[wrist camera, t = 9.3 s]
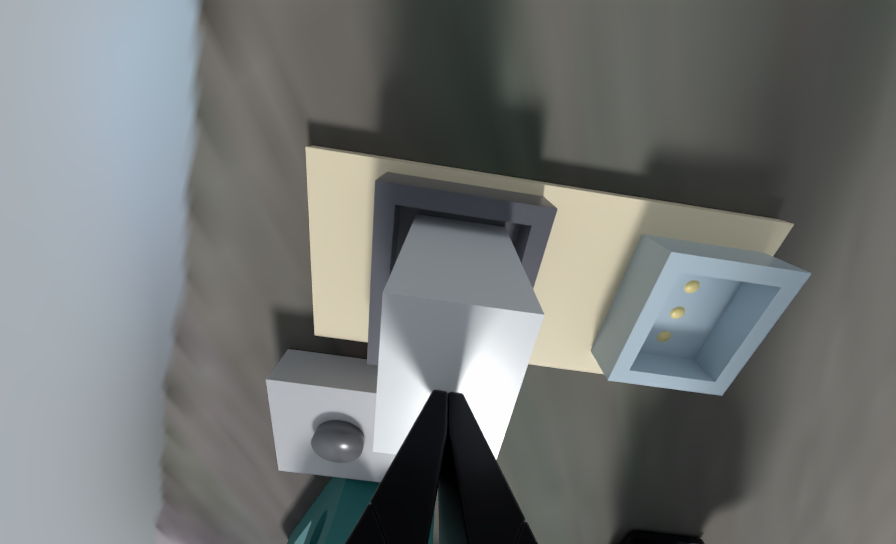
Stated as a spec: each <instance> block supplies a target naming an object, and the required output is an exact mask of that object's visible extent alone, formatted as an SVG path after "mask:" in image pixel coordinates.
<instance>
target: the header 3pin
mask: <svg viewBox="0 0 896 544" xmlns="http://www.w3.org/2000/svg"><path fill="white" fill-rule="evenodd" d="M811 274H812V273H810V272H808V271H805V270H803V269H801V268H798V267H796V266H794V265H791V264H789V263H787V262H784V261H782V260H780V259H778V258H775V257H773V256H771V255H768V254H766V253H762V252H755V251H749V250H742V249H736V248H729V247H723V246H716V245H710V244H704V243H697V242H691V241H684V240H678V239H671V238H665V237H658V236H652V235H645V234H642V236H641V238H640V241H639V243H638V245H637V247H636V250H635V252H634V254H633V256H632V259H631V261H630V263H629V266H628V268H627V270H626V272H625V275H624V277H623V279H622V281H621V284H620V286H619V288H618V290H617V293H616V295H615V297H614V300H613V302H612V304H611V306H610V309H609V311H608V313H607V315H606V318H605V320H604V322H603V324H602V327H601V329H600V331H599V334H598V336H597V338H596V340H595V343H594V345H593V347H592V349H591V353H592V354H593V356H594V358H595V360H596V361H597V363H598V365H599V366H600V368H601V370H602V372H603V373H604V375H605V377H606V379H607V380H608V381H616V382H623V383H631V384H638V385H646V386H653V387H661V388H668V389H676V390H683V391H691V392H698V393H706V394H713V395H720V396H722V395H723V394H724V392H725V391H726V390H727V388H728V387H729V386H730V384H731V383H732V381H733V380H734V379H735V377H736V376H737V375H738V373H739V372H740V371H741V369H742V368H743V366H744V365H745V364H746V362H747V361H748V360H749V358H750V357H751V356H752V354H753V353H754V351H755V350H756V349H757V347H758V346H759V345H760V343H761V342H762V341H763V339H764V338H765V336H766V335H767V334H768V332H769V331H770V330H771V328H772V327H773V326H774V324H775V323H776V321H777V320H778V319H779V317H780V316H781V315H782V313H783V312H784V310H785V309H786V308H787V306H788V305H789V304H790V302H791V301H792V300H793V298H794V297H795V295H796V294H797V293H798V291H799V290H800V289H801V287H802V286H803V285H804V283H805V282H806V280H807V279H808V278H809V276H810V275H811Z"/></svg>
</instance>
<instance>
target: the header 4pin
mask: <svg viewBox="0 0 896 544" xmlns="http://www.w3.org/2000/svg"><path fill="white" fill-rule="evenodd" d="M557 210H558V209H557V208H556V207H555V206H554V205H553V204H552V203H551V202H549V201H548V200H547V199H546V198H545V197H544V196H538V195H532V194H526V193H519V192H513V191H507V190H500V189H494V188H487V187H481V186H475V185H468V184H462V183H456V182H449V181H443V180H436V179H430V178H424V177H417V176H411V175H405V174H398V173H392V172H386V173H385V174H383V175H382V176H380V177H379V178H378V179H376V180H375V193H374V215H373V237H372V259H371V281H370V304H369V326H368V348H367V364H371V365H378V361H379V344H380V328H381V312H382V296H383V291H384V288H385V286H386V284H387V281H388V279H389V277H390V274H391V272H392V270H393V267H394V265H395V263H396V260H397V258H398V256H399V253H400V251H401V249H402V246H403V244H404V242H405V239H406V237H407V235H408V232H409V230H410V228H411V226H412V223H413V221H414V219H415V216H416V214H418V215H425V216H432V217H439V218H445V219H452V220H459V221H466V222H472V223H479V224H486V225H493V226H499V227H505V228H506V230H507V232H508V235H509V237H510V239H511V241H512V243H513V246H514V248H515V250H516V252H517V255H518V257H519V259H520V261H521V263H522V266H523V268H524V270H525V272H526V275H527V277H528V279H529V281H530V283H531V286H532V288H534V285H535V282H536V278H537V275H538V272H539V268H540V265H541V262H542V259H543V255H544V252H545V249H546V246H547V242H548V239H549V236H550V233H551V229H552V226H553V223H554V219H555V216H556V213H557Z"/></svg>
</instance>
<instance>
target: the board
mask: <svg viewBox="0 0 896 544" xmlns="http://www.w3.org/2000/svg"><path fill="white" fill-rule="evenodd" d="M306 165H307V187H308V208H309V229H310V250H311V271H312V292H313V314H314V335H316V336H324V337H331V338H339V339H346V340H354V341H361V342H368V326H369V304H370V281H371V259H372V237H373V215H374V193H375V180H376V179H378V178H379V177H380V176H382V175H383V174H385V173H386V172H392V173H398V174H405V175H411V176H417V177H424V178H430V179H436V180H443V181H449V182H456V183H462V184H468V185H475V186H481V187H487V188H494V189H500V190H507V191H513V192H519V193H526V194H532V195H538V196H544V197H545V198H546V199H547V200H548V201H549V202H551V203H552V204H553V205H554V206H555V207H556V208H557V209H558V210H557V213H556V216H555V219H554V223H553V226H552V229H551V233H550V236H549V239H548V242H547V246H546V249H545V252H544V255H543V259H542V262H541V265H540V268H539V272H538V275H537V278H536V282H535V285H534V288H533V290H534V292H535V295H536V297H537V299H538V301H539V303H540V306H541V308H542V310H543V312H544V314H545V315H544V318H543V321H542V324H541V327H540V330H539V333H538V336H537V339H536V342H535V345H534V348H533V351H532V354H531V357H530V360H529V363H528V364H532V365H539V366H547V367H554V368H561V369H569V370H576V371H584V372H591V373H599V374H604V373H603V372H602V370H601V368H600V366H599V365H598V363H597V361H596V360H595V358H594V356H593V354H592V353H591V349H592V347H593V345H594V343H595V340H596V338H597V336H598V334H599V331H600V329H601V327H602V324H603V322H604V320H605V318H606V315H607V313H608V311H609V309H610V306H611V304H612V302H613V300H614V297H615V295H616V293H617V290H618V288H619V286H620V284H621V281H622V279H623V277H624V275H625V272H626V270H627V268H628V266H629V263H630V261H631V259H632V256H633V254H634V252H635V250H636V247H637V245H638V243H639V241H640V238H641V236H642V234H645V235H652V236H658V237H665V238H671V239H678V240H684V241H691V242H697V243H704V244H710V245H716V246H723V247H729V248H736V249H742V250H749V251H755V252H762V253H766V254H768V255H771V256H774V255H775V253H776V251H777V250H778V248H779V247H780V245H781V244H782V242H783V241H784V239H785V238H786V236H787V235H788V233H789V232H790V230H791V229H792V227H793V226H794V224H792V223H789V222H786V221H782V220H779V219H774V218H767V217H761V216H755V215H748V214H742V213H736V212H730V211H723V210H717V209H711V208H704V207H698V206H692V205H685V204H679V203H673V202H667V201H660V200H654V199H648V198H641V197H635V196H629V195H623V194H616V193H610V192H604V191H597V190H591V189H585V188H578V187H572V186H566V185H560V184H553V183H547V182H541V181H534V180H528V179H522V178H515V177H509V176H503V175H497V174H490V173H484V172H478V171H471V170H465V169H459V168H452V167H446V166H440V165H434V164H427V163H421V162H415V161H408V160H402V159H396V158H390V157H383V156H377V155H371V154H364V153H358V152H352V151H345V150H339V149H333V148H327V147H320V146H314V145H313V146H307V147H306Z"/></svg>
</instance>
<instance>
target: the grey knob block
mask: <svg viewBox="0 0 896 544" xmlns="http://www.w3.org/2000/svg"><path fill="white" fill-rule="evenodd" d="M377 377H378V365H371V364H367V359H360V358H353V357H345V356H338V355H330V354H323V353H315V352H307V351H300V350H292V349H288V350H287V351H286V353H285V354H284V355H283V357H282V358H281V359H280V361H279V362H278V363H277V365H276V366H275V368H274V369H273V370H272V372H271V373H270V374H269V376H268V377H267V378H266V384H267V391H268V398H269V406H270V413H271V420H272V427H273V434H274V441H275V448H276V455H277V462H278V469H279V470H280V471H288V472H297V473H305V474H314V475H322V476H331V477H340V478H348V479H357V480H365V481H374V482H381V481H382V479H383V477H384V475H385V473H386V472H387V470H388V468H389V466H390V465H391V463H392V461H393V459H394V458H395V456H396V454H387V453H379V452H373V442H374V426H375V410H376V393H377Z"/></svg>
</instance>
